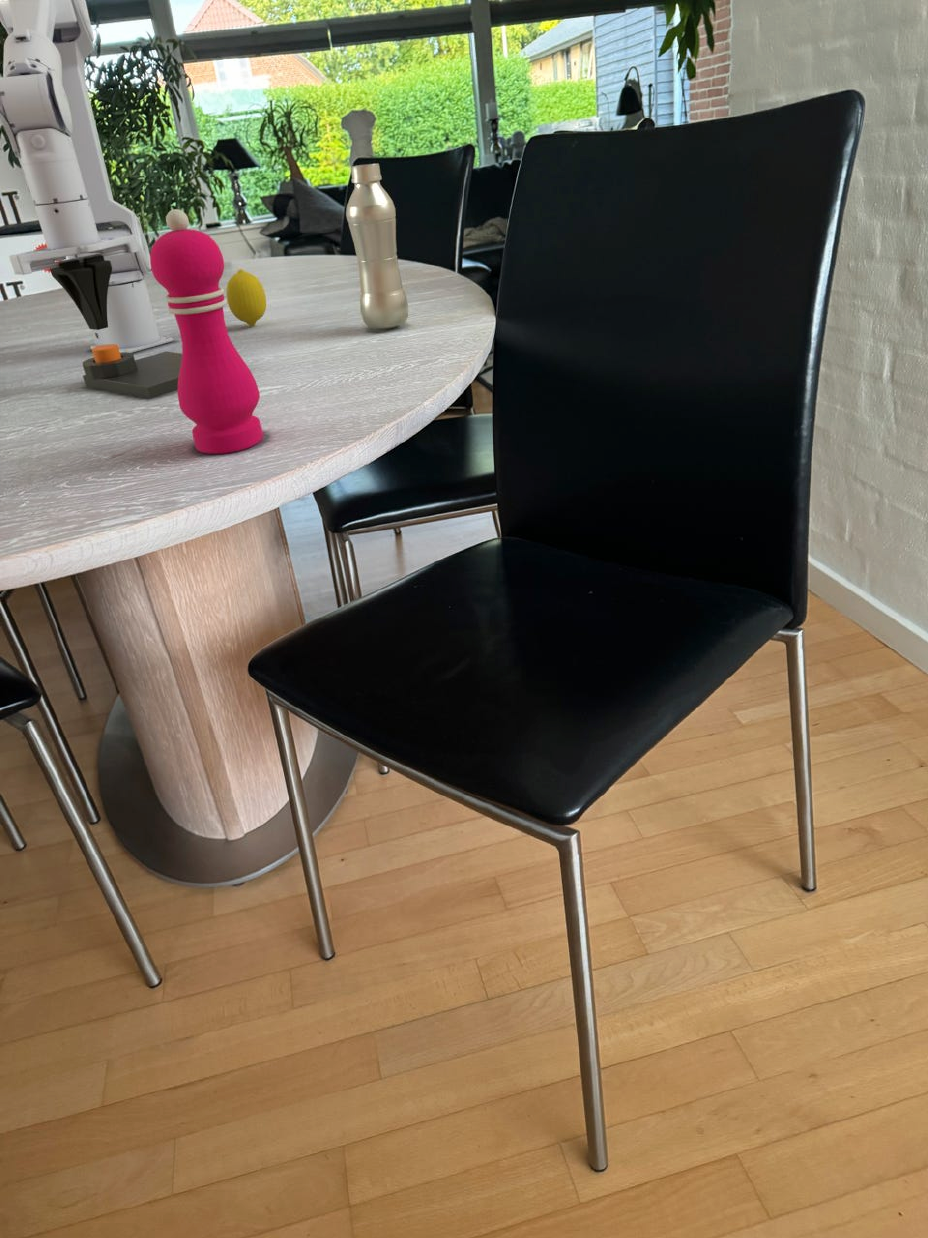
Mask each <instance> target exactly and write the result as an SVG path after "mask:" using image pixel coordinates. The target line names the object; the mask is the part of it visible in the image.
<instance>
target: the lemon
mask: <svg viewBox="0 0 928 1238" xmlns="http://www.w3.org/2000/svg"><path fill="white" fill-rule="evenodd" d="M226 299H227V300H226V301H227V304H228V308H229V310H230V311H231V313H232V315H233V316H234V317H235V318H236V319H237V320H238V321H240V322H244V323H245V324H247V325H248V326H249V327H255V325H256V323H257V322H258V321H259V320H260V319H262V317H264V314H265V313H266V310H267V297H266V293H265V289H264V287H263V285H262V283H261V281H260V280H259V279H258V278H257V277H256V276H255V275H254V274H253V273H251V272H247V271H245V270H244V269H238V270H237V272H236V273H234V274H233V275H232V276H231V277H230V278H229V280H228V282H227V284H226Z"/></svg>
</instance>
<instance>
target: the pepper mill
mask: <svg viewBox="0 0 928 1238" xmlns="http://www.w3.org/2000/svg"><path fill="white" fill-rule="evenodd" d="M165 221H166V225H167V227H168V228H169V230H171V231H168V232H166V233H164V234H163V235H161V236H160V237H159V238H157V239H156V240H155V242H154V243H153V245H152V247H151V250H150V252H149V254H150V265H151V270H150V271H151V273H152V275H153V277H154V279H155V280H156V282H157V283H158V284H159V285H160V286H162V287H163V289H165V290H166V291H167V293H168V294H167V295H165V296H164V297H165V298H164V300H165V301H166V302H167V306H168V307H167V311H168V313H169V314H172V315H174V318H175V320H176V324H177V327H178V330H179V336H180V340H181V344H182V345H181V350H182V351H181V354H182V361H181V367H180V372H179V378H178V390H177V391H176V392H177V399H178V406H179V409H180V411H181V413H182V414H183V415H184V416H185V417H186V418H187V419H189V420H190V421H192V422H193V423H194V424H195V426H194V427H193V428H192V430H191V433H192V437H193V442H194V446H195V448H196V450H197V451H199V452H200V453H204V454H208V455H209V454H210V455H220V454H230V453H235V452H239V451H243V450H247V449H249V448H252V447H254V446H256V445H258V444H259V443H260V442H261V441H263V439H264V433H263V428H262V423H261V420H260V418H259V417H257V416H256V415H254V411H255V410H256V408H257V406H258V404H259V401H260V398H261V394H260V390H259V387H258V384H257V380H256V378H255V377H254V375H253V373H252V371H251V369H250V368H249V366H248V365H247V363H246V362H245V361H244V359H243V358H242V356H241V355H240V353H239V352H238V350H237V348H236V346H235V345H234V344H233V342H232V339H231V337H230V335H229V332H228V328H227V325H226V324H227V323H226V321H225V313H224V307H225V306H226V305H227V304H228V301H227V300H226V299H225V295H224V294H225V289H224V288H223V287H221V286H219V285H220V281H221V279H222V276H223V275H224V272H225V260H224V256H223V253H222V251H221V249H220V247H219V245H218V244H217V241H215V239H213V238H212V237H211V236H210V235H208V234H207V233H205V232H202V231H199V230H196V229H188V227H189V223H190V221H189V218H188V215H187V214H186V212H184V211H183V210H181V209H178V208H176V209H171V210H170V211H169V212H168V213H167V214H166V218H165Z"/></svg>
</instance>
